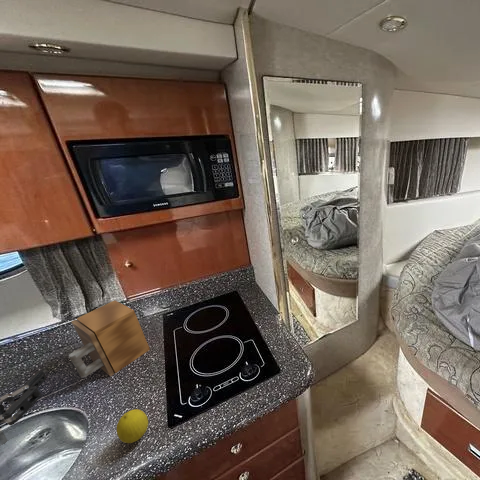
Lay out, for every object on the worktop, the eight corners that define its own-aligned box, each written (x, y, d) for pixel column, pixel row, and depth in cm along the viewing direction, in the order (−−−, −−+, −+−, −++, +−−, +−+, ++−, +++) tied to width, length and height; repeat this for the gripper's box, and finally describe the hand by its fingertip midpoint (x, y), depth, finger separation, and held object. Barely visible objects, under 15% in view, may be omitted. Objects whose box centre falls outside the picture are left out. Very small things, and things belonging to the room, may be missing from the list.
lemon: (150, 419, 61) (139, 397, 58) (154, 437, 57) (143, 414, 54) (122, 436, 58) (109, 414, 55) (125, 457, 54) (112, 434, 51)
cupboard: (115, 373, 74) (94, 331, 68) (97, 358, 80) (76, 318, 74) (150, 349, 82) (134, 310, 76) (131, 337, 88) (114, 300, 81)
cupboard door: (90, 390, 69) (65, 347, 63) (72, 373, 75) (48, 332, 69) (114, 373, 74) (93, 332, 68) (96, 358, 79) (75, 319, 73)
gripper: (-36, 442, 38) (50, 358, 53) (-154, 466, 36) (-31, 371, 51) (-9, 470, 41) (65, 383, 56) (-116, 494, 39) (-10, 396, 54)
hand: (19, 377), depth 53 cm, fingers open, 8 cm apart
